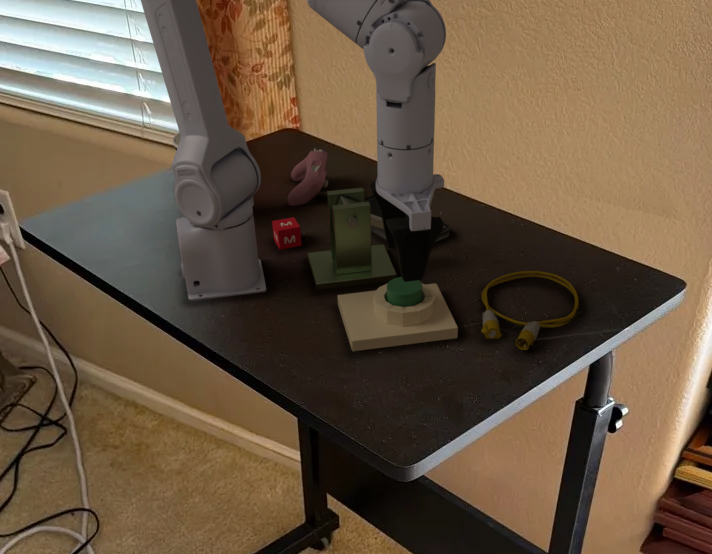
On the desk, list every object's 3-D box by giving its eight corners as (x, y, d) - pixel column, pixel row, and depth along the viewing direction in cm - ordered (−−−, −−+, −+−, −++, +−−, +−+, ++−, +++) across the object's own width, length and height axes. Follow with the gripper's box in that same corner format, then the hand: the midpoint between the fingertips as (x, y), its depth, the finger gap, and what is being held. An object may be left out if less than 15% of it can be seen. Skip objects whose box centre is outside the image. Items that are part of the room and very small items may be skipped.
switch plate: (352, 353, 98) (351, 327, 95) (338, 307, 105) (336, 281, 103) (457, 340, 99) (458, 313, 97) (436, 295, 106) (436, 269, 104)
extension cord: (437, 317, 103) (438, 302, 101) (525, 269, 110) (527, 254, 109) (518, 359, 96) (520, 344, 94) (606, 305, 103) (609, 290, 102)
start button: (390, 310, 98) (390, 296, 97) (383, 292, 101) (383, 278, 100) (425, 305, 99) (426, 292, 97) (417, 288, 102) (417, 274, 100)
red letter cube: (295, 237, 118) (294, 217, 116) (301, 247, 116) (300, 226, 114) (274, 242, 118) (272, 221, 116) (280, 252, 116) (277, 230, 114)
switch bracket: (383, 252, 115) (383, 179, 108) (396, 282, 109) (396, 208, 102) (307, 261, 114) (302, 188, 107) (316, 292, 108) (311, 217, 101)
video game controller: (314, 218, 126) (333, 175, 122) (284, 205, 125) (303, 161, 120) (317, 188, 133) (336, 147, 129) (289, 176, 132) (307, 133, 128)
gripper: (463, 163, 83) (457, 290, 92) (427, 109, 93) (425, 228, 103) (390, 171, 82) (391, 298, 91) (362, 116, 93) (365, 235, 102)
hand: (404, 262), depth 97 cm, fingers open, 7 cm apart
